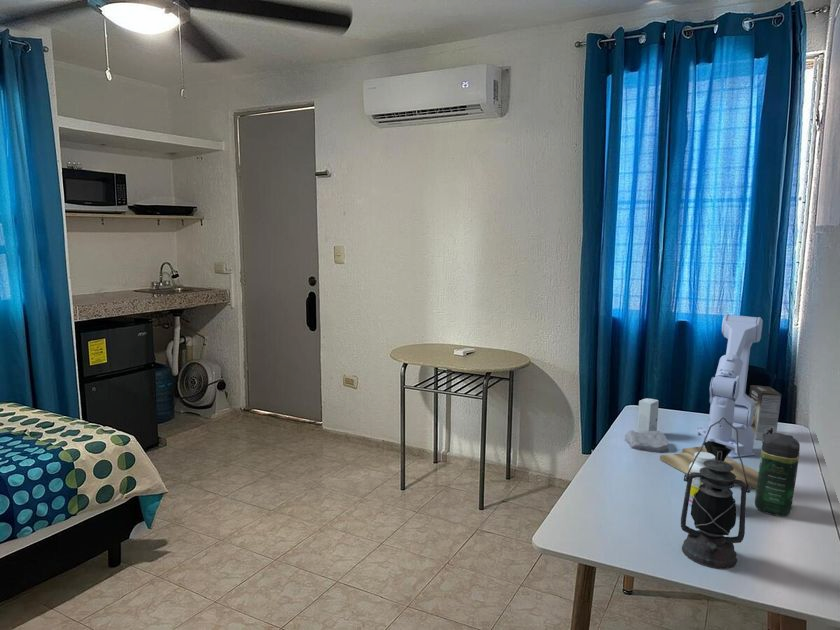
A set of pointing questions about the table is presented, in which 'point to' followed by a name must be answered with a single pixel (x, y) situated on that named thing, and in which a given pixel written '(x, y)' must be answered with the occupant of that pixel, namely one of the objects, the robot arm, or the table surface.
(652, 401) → the skincare box
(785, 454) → the coffee jar
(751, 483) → the laid floor row
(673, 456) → the board
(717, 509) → the lantern
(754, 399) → the coffee box
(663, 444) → the stone block
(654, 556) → the table surface
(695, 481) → the supplement bottle
